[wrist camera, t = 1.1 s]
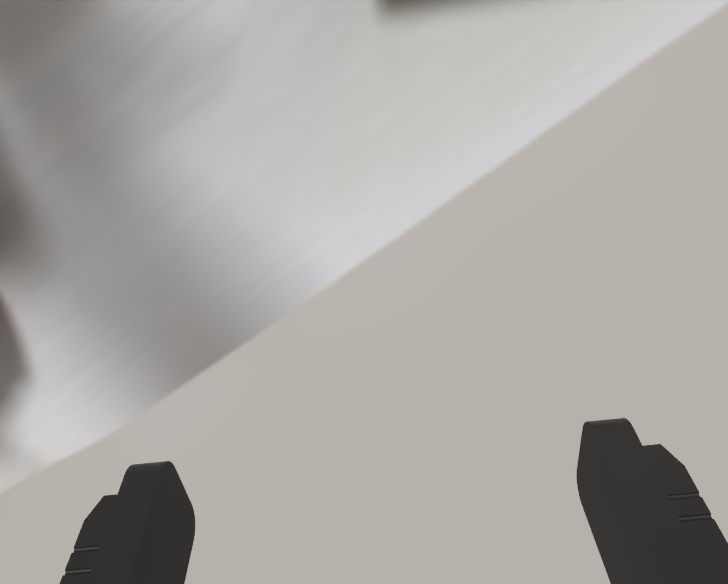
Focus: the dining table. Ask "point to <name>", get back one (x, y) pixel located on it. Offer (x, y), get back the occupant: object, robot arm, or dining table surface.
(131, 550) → the robot arm
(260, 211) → the dining table surface
